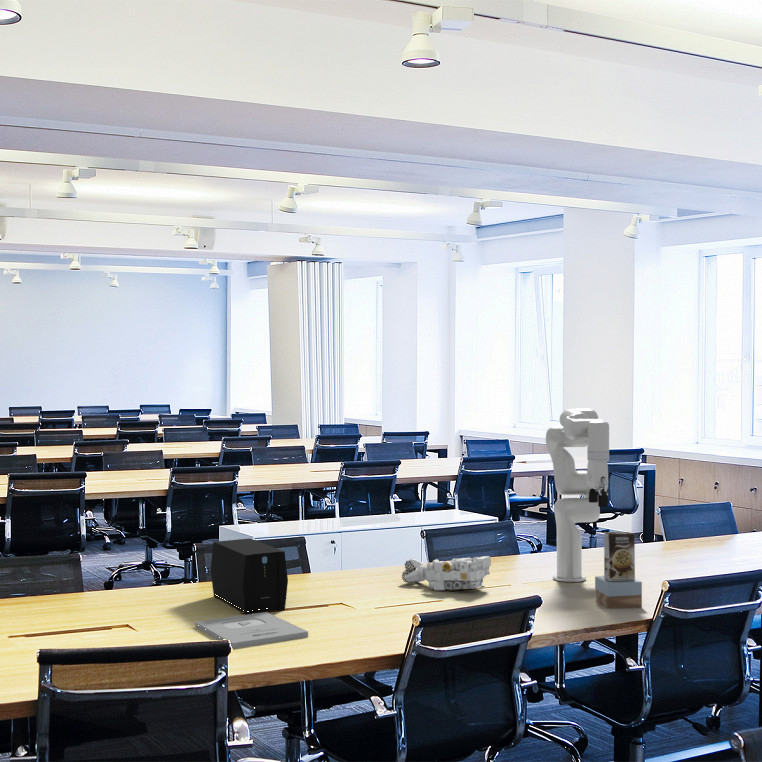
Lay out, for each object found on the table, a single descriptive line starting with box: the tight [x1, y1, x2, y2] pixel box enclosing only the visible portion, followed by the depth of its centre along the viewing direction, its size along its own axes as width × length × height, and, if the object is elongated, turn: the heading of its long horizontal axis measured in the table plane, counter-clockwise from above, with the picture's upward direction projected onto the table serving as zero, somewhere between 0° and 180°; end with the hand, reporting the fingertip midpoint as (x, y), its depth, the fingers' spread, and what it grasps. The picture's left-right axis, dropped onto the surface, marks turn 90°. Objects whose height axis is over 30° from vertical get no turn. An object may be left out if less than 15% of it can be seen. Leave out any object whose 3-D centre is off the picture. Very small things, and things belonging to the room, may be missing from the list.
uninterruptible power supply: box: [210, 538, 289, 615], centre depth 345 cm, size 16×34×20 cm, turn 29°
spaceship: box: [401, 555, 492, 591], centre depth 367 cm, size 16×35×12 cm, turn 61°
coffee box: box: [603, 531, 636, 581], centre depth 338 cm, size 9×6×16 cm
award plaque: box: [194, 612, 309, 650], centre depth 304 cm, size 25×30×2 cm
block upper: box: [594, 575, 643, 597], centre depth 339 cm, size 12×12×4 cm
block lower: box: [595, 589, 643, 610], centre depth 339 cm, size 12×12×4 cm
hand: (598, 504), depth 346 cm, fingers open, 9 cm apart
